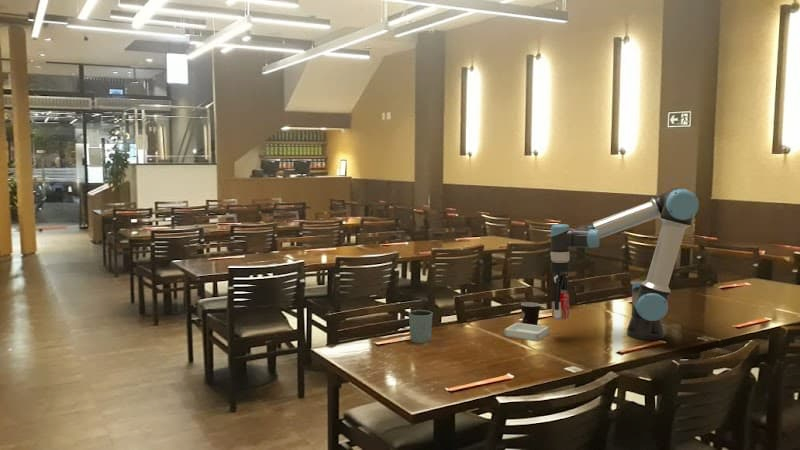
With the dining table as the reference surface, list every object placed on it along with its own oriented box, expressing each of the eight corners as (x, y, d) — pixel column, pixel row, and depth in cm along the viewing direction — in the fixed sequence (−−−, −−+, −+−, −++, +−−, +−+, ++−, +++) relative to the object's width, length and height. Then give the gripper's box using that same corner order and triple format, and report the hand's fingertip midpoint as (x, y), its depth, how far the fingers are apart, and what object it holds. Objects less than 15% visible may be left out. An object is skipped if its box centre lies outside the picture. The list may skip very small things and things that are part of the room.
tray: (549, 333, 283) (549, 326, 283) (537, 341, 271) (537, 334, 271) (516, 329, 291) (516, 322, 291) (504, 336, 279) (504, 329, 279)
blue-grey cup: (420, 335, 281) (420, 308, 280) (437, 340, 274) (437, 312, 273) (403, 340, 274) (403, 312, 273) (421, 345, 267) (421, 316, 266)
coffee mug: (539, 328, 292) (540, 306, 291) (520, 327, 293) (520, 306, 292) (539, 322, 303) (539, 301, 302) (520, 321, 305) (521, 300, 304)
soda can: (549, 317, 277) (549, 289, 276) (565, 316, 277) (565, 288, 276) (554, 321, 270) (554, 292, 269) (571, 320, 270) (571, 292, 269)
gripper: (559, 257, 282) (559, 309, 284) (543, 264, 265) (543, 319, 267) (576, 258, 278) (576, 311, 280) (561, 265, 261) (561, 321, 263)
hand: (560, 315), depth 273 cm, fingers closed on soda can, 7 cm apart
